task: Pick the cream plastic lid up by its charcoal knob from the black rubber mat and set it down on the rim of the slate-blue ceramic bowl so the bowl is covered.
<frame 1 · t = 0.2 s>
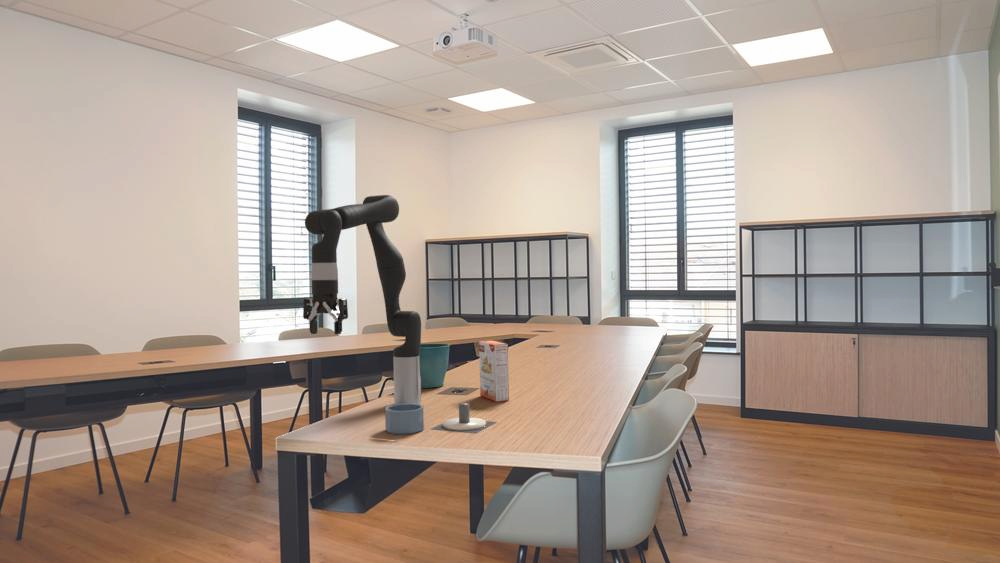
hand: (325, 334, 189), 29 cm above the table, fingers open, 8 cm apart
cracker box: (494, 399, 238), on the table
bowl: (404, 431, 189), on the table
flower pot: (428, 386, 268), on the table
mat: (464, 426, 194), on the table
lid: (464, 425, 194), resting on mat
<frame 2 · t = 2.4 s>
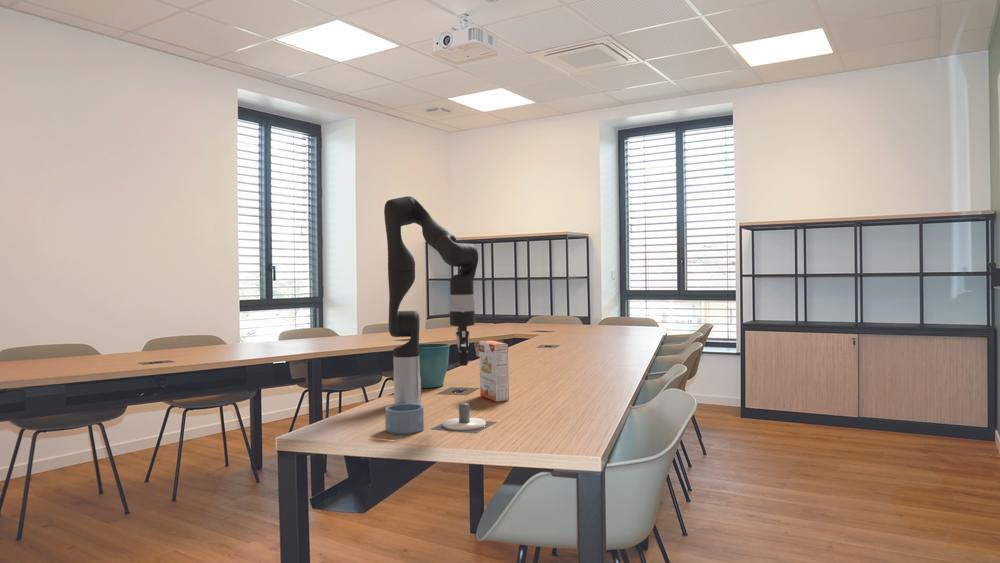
hand: (463, 363, 194), 19 cm above the table, fingers open, 8 cm apart
nothing on the table moved.
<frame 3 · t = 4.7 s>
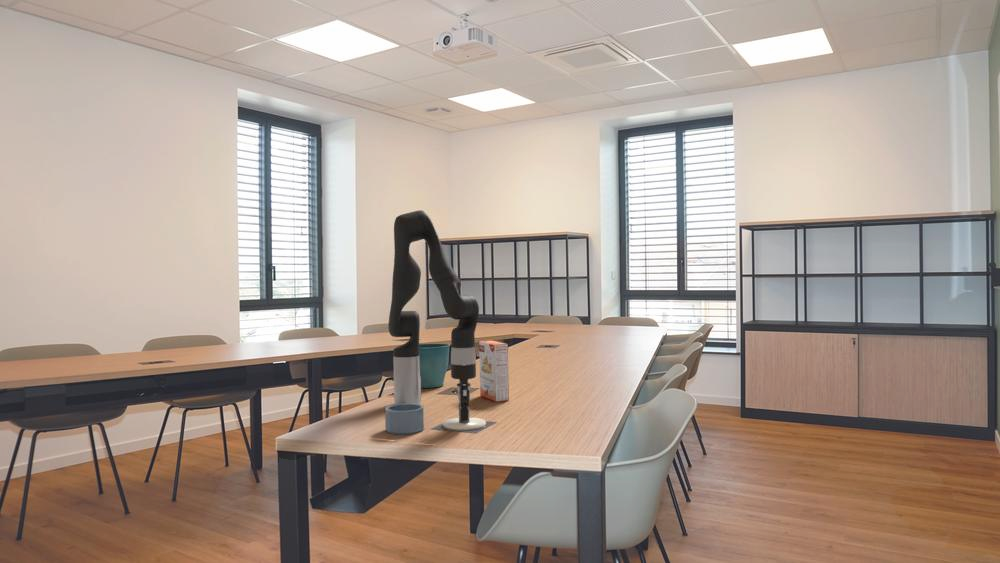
hand: (464, 419, 194), 2 cm above the table, fingers closed on lid, 3 cm apart
lid: (464, 425, 194), resting on mat, touching gripper
everything else where it was.
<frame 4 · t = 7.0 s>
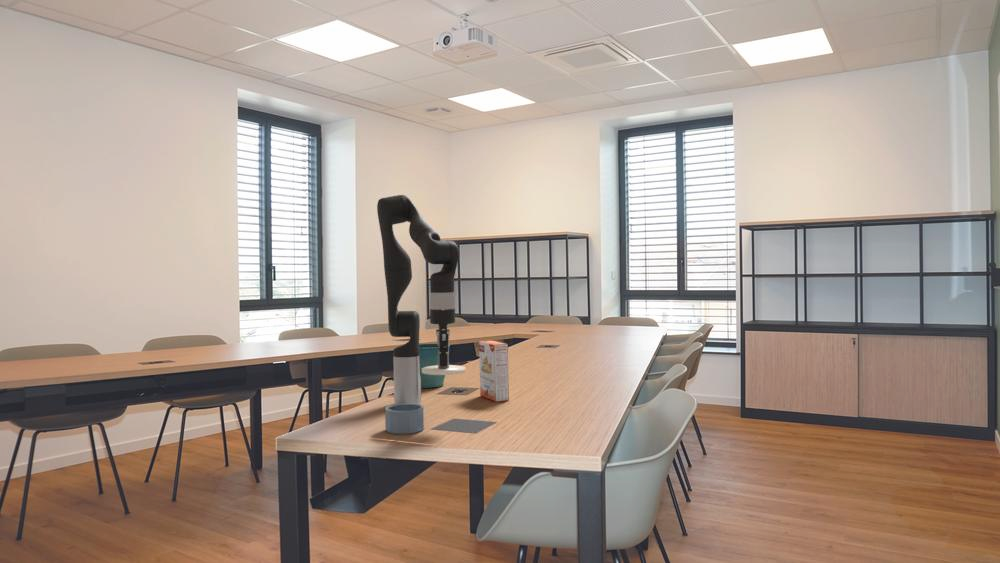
hand: (443, 365, 192), 19 cm above the table, fingers closed on lid, 3 cm apart
lid: (443, 371, 192), point 17 cm above the table, touching gripper
everything else where it was.
when the fingers open (10 cm above the table, at t = 9.7 s): lid drops 1 cm, resting on bowl.
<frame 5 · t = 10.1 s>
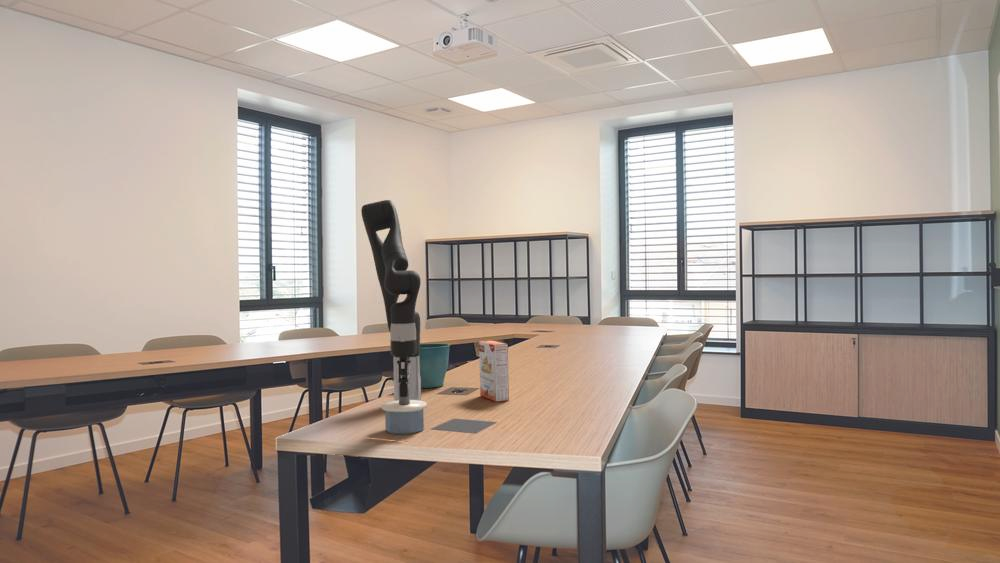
hand: (404, 394, 189), 11 cm above the table, fingers open, 7 cm apart
lid: (404, 407, 189), point 7 cm above the table, touching bowl
everything else where it was.
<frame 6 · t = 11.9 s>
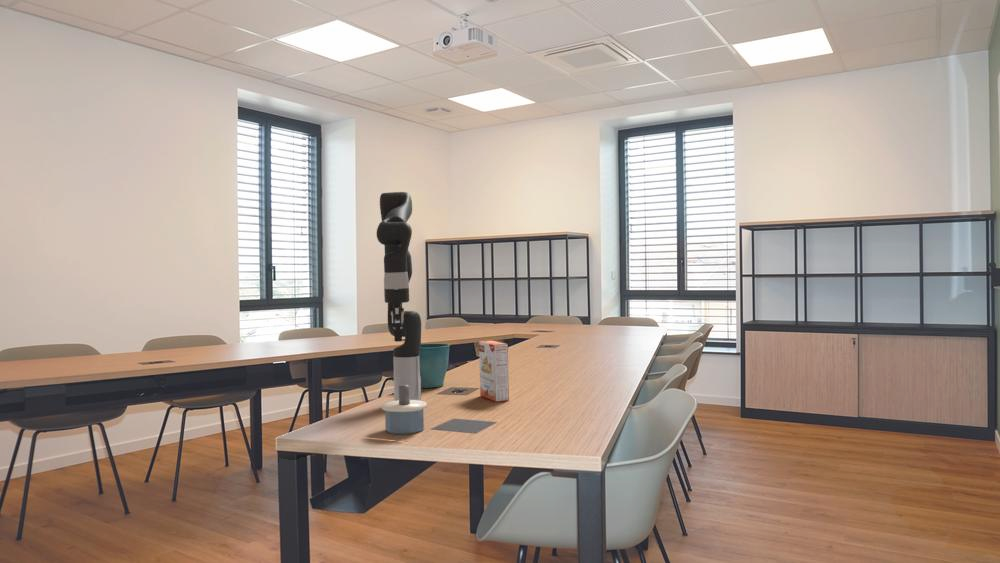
hand: (398, 339, 199), 26 cm above the table, fingers open, 8 cm apart
nothing on the table moved.
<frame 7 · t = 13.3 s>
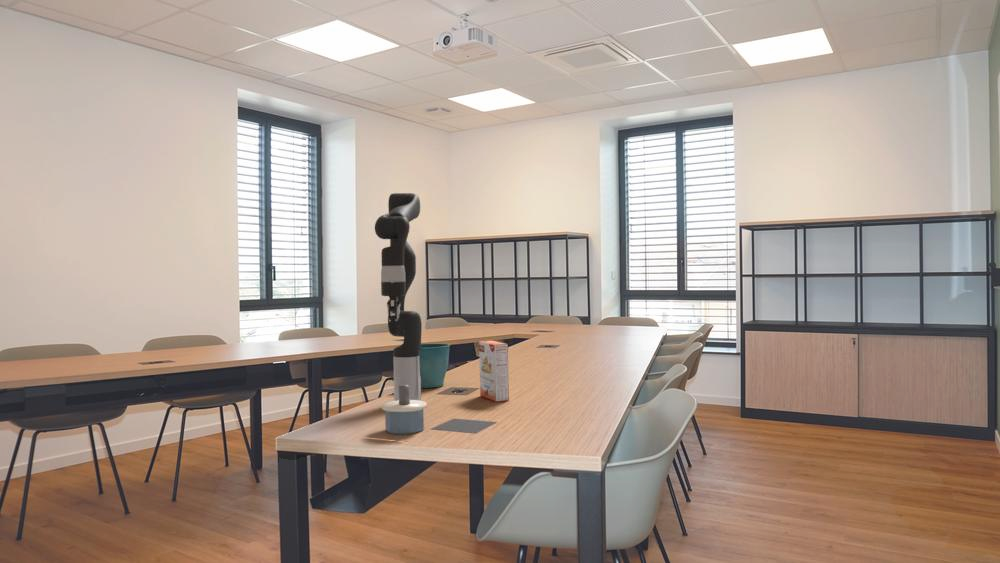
hand: (394, 332, 201), 28 cm above the table, fingers open, 8 cm apart
nothing on the table moved.
at the end: lid 0.1 cm off-centre on the bowl, point 7.0 cm above the bowl's base; lid tilted 0°; the gripper is holding nothing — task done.
